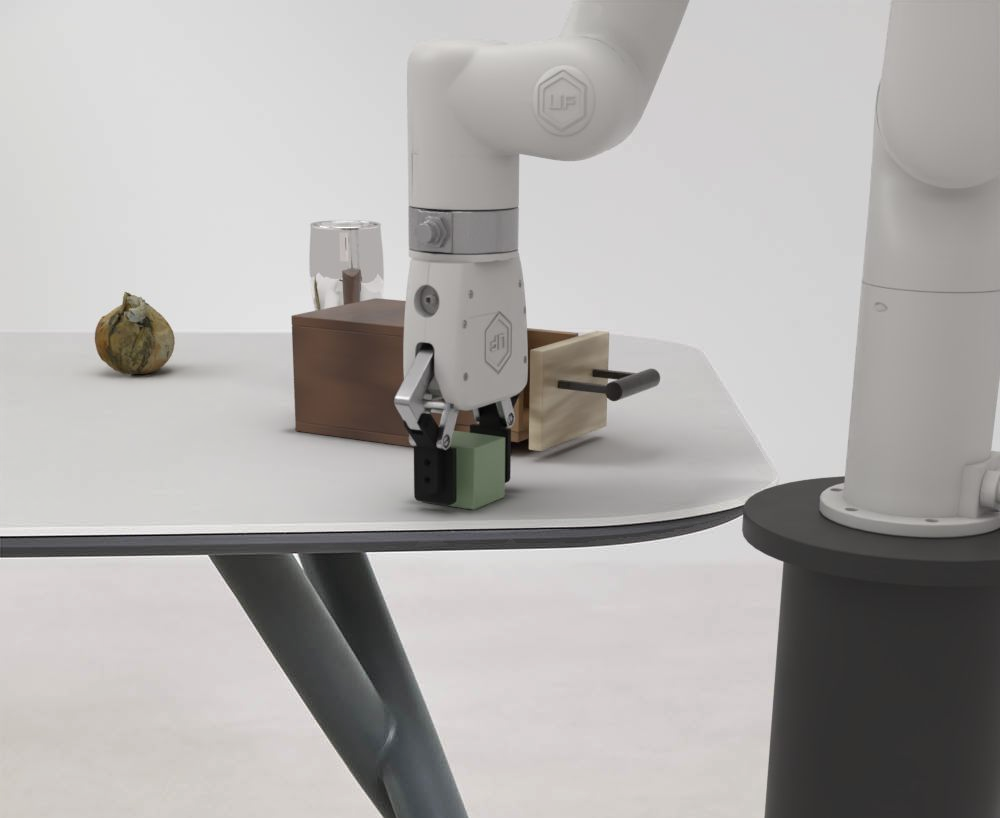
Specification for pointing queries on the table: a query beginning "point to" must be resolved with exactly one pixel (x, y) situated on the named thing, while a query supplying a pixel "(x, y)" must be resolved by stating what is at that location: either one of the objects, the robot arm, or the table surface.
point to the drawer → (566, 388)
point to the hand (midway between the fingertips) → (463, 489)
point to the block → (478, 469)
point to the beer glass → (345, 262)
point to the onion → (134, 337)
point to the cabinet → (351, 371)
